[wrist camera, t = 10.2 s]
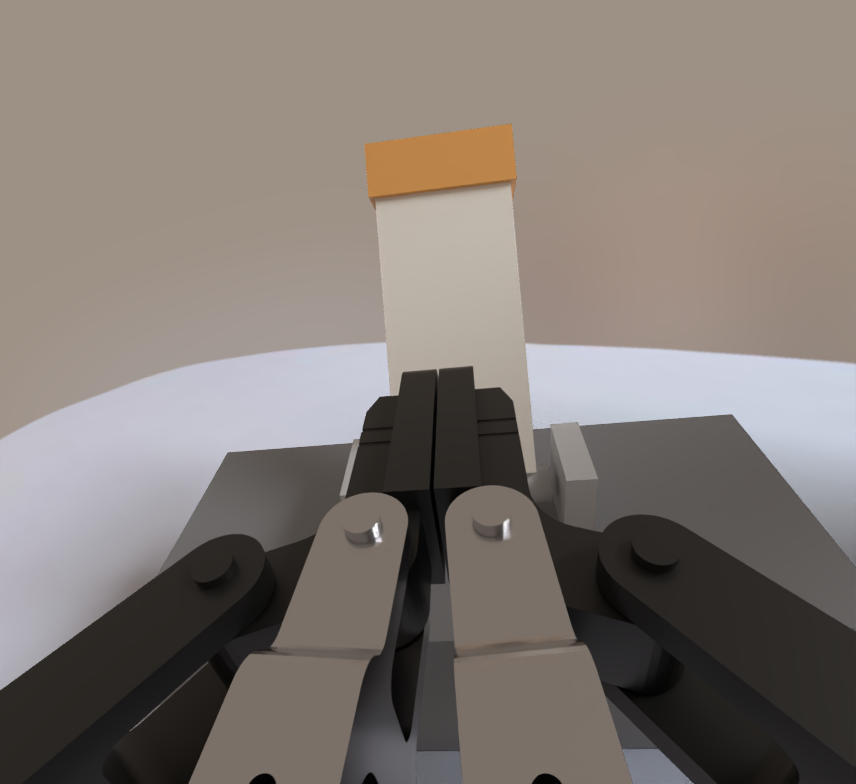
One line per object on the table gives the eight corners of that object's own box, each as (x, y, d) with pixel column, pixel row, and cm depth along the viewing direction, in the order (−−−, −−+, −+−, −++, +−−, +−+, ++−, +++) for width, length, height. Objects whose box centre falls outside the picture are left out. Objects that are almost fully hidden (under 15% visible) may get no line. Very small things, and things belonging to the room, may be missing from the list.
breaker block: (963, 1022, 13) (1338, 935, 7) (121, 988, 15) (-153, 901, 9) (696, 526, 27) (742, 352, 21) (277, 549, 29) (208, 399, 23)
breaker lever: (554, 507, 17) (520, 122, 17) (385, 517, 17) (356, 145, 18) (546, 496, 19) (515, 151, 19) (394, 505, 19) (368, 171, 20)
